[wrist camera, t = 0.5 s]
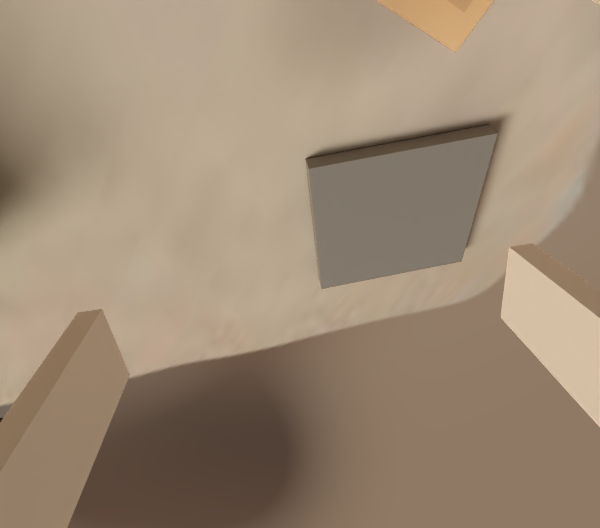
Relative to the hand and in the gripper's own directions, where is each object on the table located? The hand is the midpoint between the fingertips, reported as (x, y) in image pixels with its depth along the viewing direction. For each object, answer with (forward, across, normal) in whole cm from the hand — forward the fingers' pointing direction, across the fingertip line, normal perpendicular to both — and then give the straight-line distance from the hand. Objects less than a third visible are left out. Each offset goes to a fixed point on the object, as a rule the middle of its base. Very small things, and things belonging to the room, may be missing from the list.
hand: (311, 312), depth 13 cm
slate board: (+15, +7, -3) cm, 16 cm away
